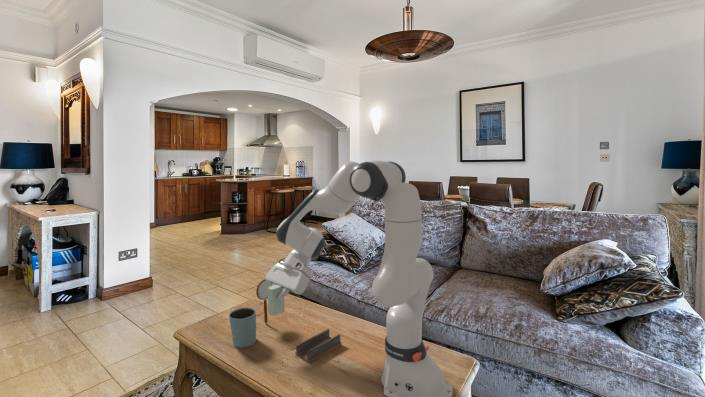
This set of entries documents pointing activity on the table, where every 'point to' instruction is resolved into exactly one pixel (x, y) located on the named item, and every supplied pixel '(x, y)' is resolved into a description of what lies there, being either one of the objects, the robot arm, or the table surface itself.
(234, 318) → the blue-grey cylindrical cup
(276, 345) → the table surface
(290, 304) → the table surface
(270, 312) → the pale green eraser block
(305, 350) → the track
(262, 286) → the magnifying glass
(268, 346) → the table surface
